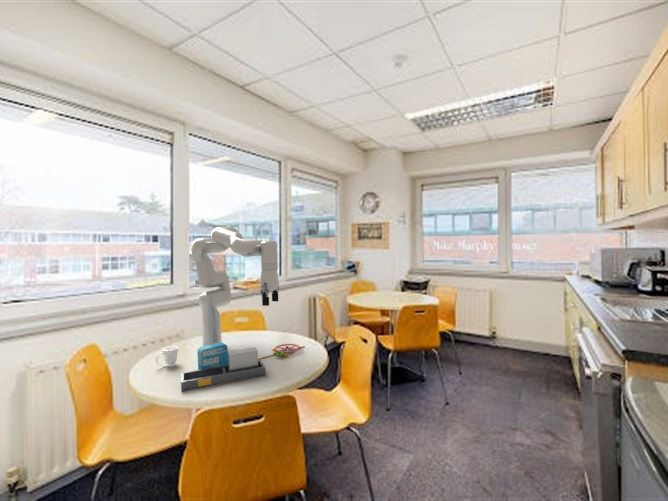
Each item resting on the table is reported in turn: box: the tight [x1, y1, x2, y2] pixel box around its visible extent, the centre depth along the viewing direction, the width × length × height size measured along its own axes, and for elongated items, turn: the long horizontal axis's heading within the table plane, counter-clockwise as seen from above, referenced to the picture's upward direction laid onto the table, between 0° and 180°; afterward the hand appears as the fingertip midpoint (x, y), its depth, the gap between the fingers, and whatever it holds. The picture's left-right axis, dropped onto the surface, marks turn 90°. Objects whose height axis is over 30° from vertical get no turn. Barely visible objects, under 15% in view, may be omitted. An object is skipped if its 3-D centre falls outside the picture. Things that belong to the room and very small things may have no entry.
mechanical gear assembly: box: [258, 343, 305, 360], centre depth 174 cm, size 30×4×15 cm
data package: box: [197, 342, 229, 370], centre depth 152 cm, size 12×4×12 cm, turn 131°
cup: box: [155, 345, 179, 368], centre depth 160 cm, size 7×10×8 cm
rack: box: [180, 346, 267, 392], centre depth 144 cm, size 11×33×11 cm, turn 114°
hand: (270, 303), depth 159 cm, fingers open, 9 cm apart
